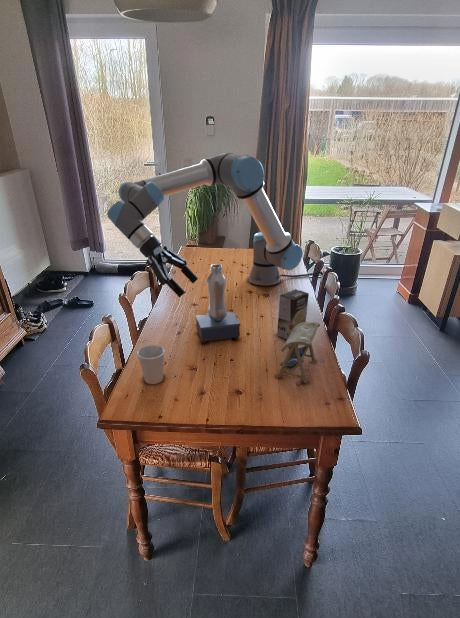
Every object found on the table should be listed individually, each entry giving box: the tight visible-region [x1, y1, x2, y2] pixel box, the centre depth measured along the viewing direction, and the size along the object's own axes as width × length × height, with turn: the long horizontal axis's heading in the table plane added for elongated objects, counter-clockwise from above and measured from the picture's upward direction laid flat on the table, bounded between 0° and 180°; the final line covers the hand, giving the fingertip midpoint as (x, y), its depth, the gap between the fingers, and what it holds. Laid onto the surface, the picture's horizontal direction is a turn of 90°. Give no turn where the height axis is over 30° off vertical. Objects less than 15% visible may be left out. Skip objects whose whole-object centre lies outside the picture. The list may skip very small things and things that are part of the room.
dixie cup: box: [136, 344, 166, 385], centre depth 134 cm, size 8×8×10 cm
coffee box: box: [276, 288, 310, 341], centre depth 158 cm, size 9×6×16 cm
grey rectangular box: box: [194, 311, 241, 345], centre depth 159 cm, size 14×10×7 cm
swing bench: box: [276, 320, 321, 384], centre depth 137 cm, size 15×10×15 cm, turn 158°
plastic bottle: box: [206, 263, 228, 321], centre depth 152 cm, size 6×7×20 cm
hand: (189, 287), depth 154 cm, fingers open, 13 cm apart
